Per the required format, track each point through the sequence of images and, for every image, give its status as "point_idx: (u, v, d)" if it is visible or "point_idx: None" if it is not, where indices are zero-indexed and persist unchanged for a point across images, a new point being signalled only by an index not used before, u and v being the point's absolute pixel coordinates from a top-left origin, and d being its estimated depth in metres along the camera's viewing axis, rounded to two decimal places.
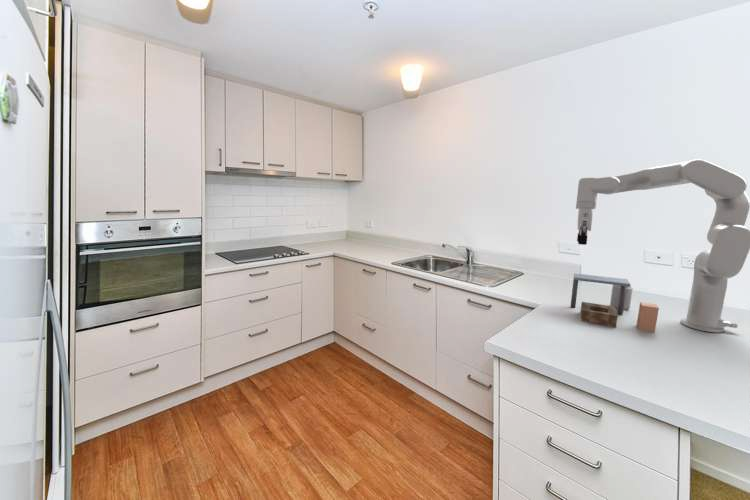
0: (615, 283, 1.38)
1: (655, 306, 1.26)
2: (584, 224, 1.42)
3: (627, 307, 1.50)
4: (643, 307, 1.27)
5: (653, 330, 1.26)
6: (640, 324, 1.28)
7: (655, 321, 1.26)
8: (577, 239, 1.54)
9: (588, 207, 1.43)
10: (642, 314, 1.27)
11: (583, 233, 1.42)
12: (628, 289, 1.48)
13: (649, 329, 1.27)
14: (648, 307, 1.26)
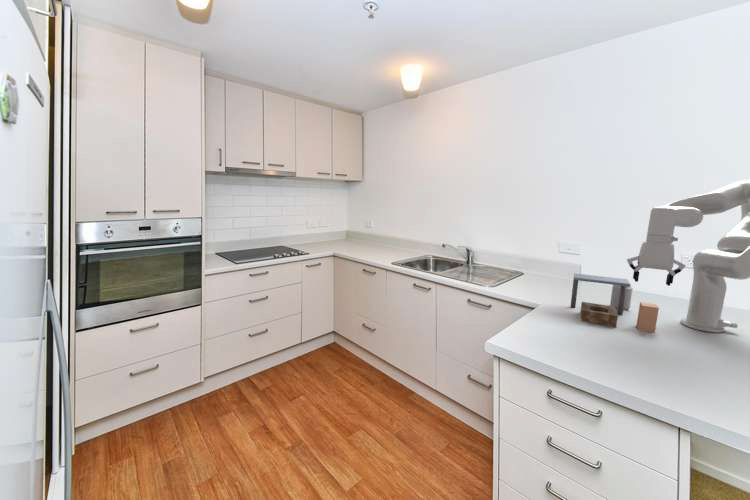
0: (615, 283, 1.38)
1: (655, 306, 1.26)
2: None
3: (627, 307, 1.50)
4: (643, 307, 1.27)
5: (653, 330, 1.26)
6: (640, 324, 1.28)
7: (655, 321, 1.26)
8: (637, 279, 1.27)
9: None
10: (642, 314, 1.27)
11: None
12: (628, 289, 1.48)
13: (649, 329, 1.27)
14: (648, 307, 1.26)
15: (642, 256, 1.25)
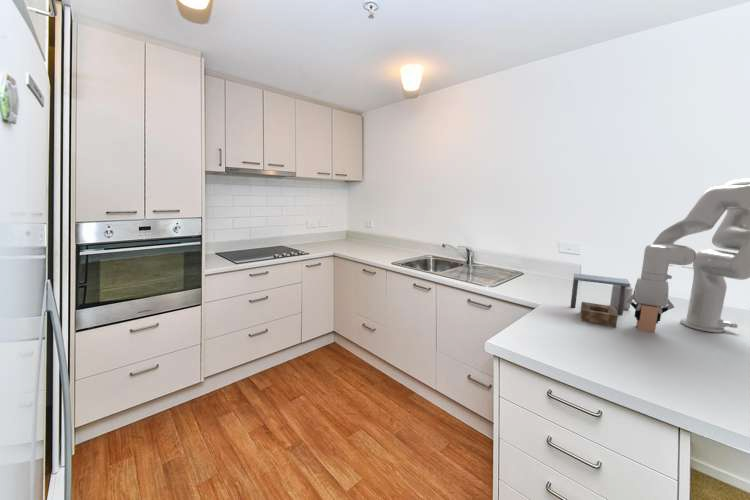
0: (615, 283, 1.38)
1: (655, 306, 1.26)
2: None
3: (627, 307, 1.50)
4: (643, 307, 1.27)
5: (653, 330, 1.26)
6: (640, 324, 1.28)
7: (655, 321, 1.26)
8: (639, 318, 1.29)
9: None
10: (642, 314, 1.27)
11: None
12: (628, 289, 1.48)
13: (649, 329, 1.27)
14: (648, 307, 1.26)
15: (637, 292, 1.28)
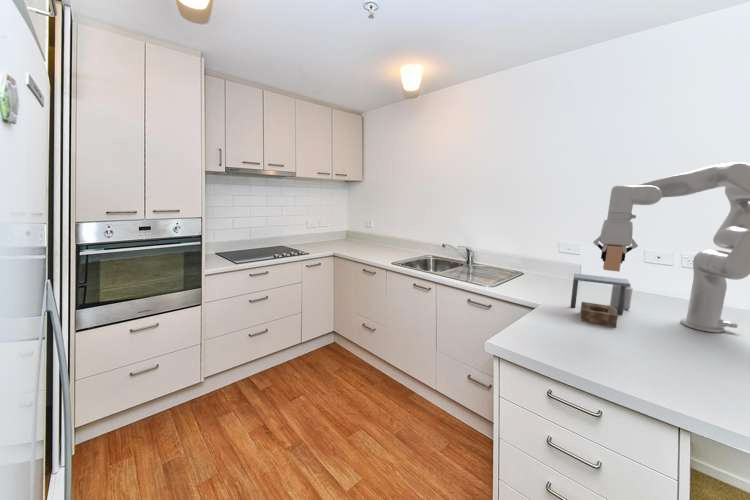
0: (615, 283, 1.38)
1: (620, 246, 1.29)
2: (635, 242, 1.27)
3: (627, 307, 1.50)
4: (608, 247, 1.30)
5: (618, 269, 1.29)
6: (605, 264, 1.31)
7: (620, 260, 1.29)
8: None
9: None
10: (607, 254, 1.30)
11: None
12: (628, 289, 1.48)
13: (614, 269, 1.30)
14: (613, 246, 1.29)
15: (603, 233, 1.31)
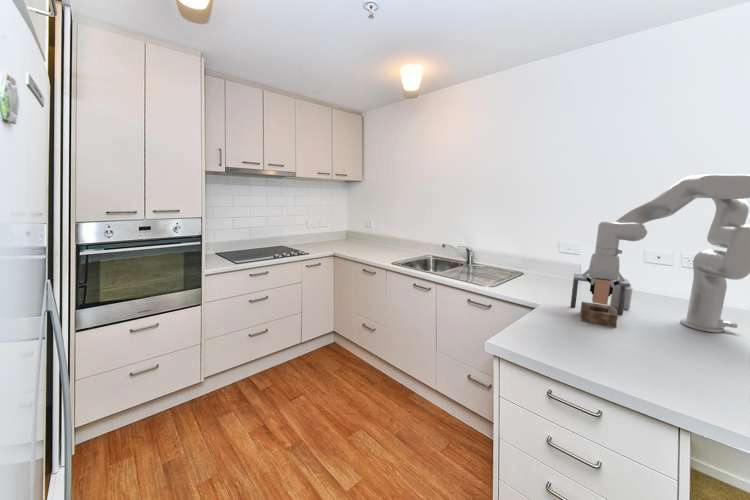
0: None
1: (607, 280, 1.33)
2: None
3: (627, 307, 1.50)
4: (596, 281, 1.34)
5: (606, 303, 1.33)
6: (594, 297, 1.35)
7: (607, 294, 1.32)
8: (593, 292, 1.36)
9: None
10: (596, 288, 1.34)
11: None
12: (628, 289, 1.48)
13: (602, 302, 1.34)
14: (601, 280, 1.33)
15: (591, 267, 1.34)
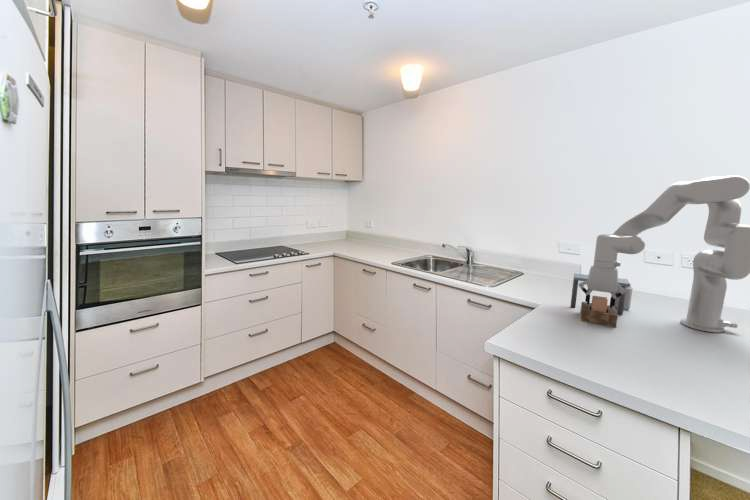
0: None
1: (605, 299, 1.34)
2: (622, 287, 1.31)
3: (627, 307, 1.50)
4: (594, 300, 1.35)
5: None
6: None
7: None
8: None
9: None
10: (593, 307, 1.36)
11: None
12: (628, 289, 1.48)
13: None
14: (598, 300, 1.34)
15: (590, 280, 1.35)
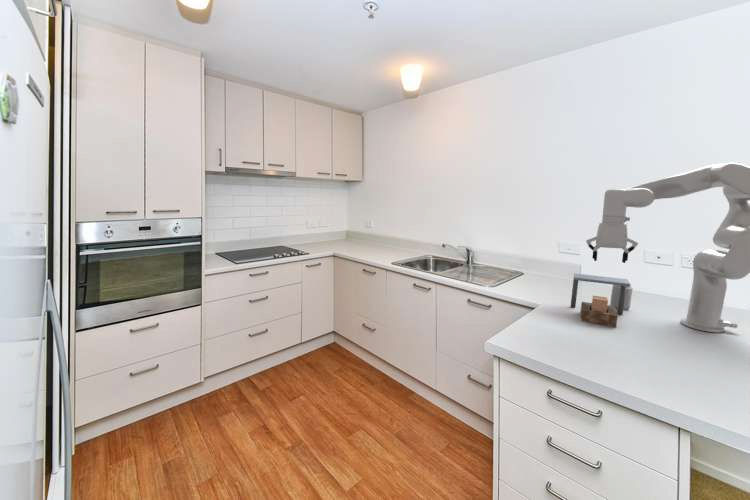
0: (615, 283, 1.38)
1: (605, 299, 1.34)
2: None
3: (627, 307, 1.50)
4: (594, 300, 1.35)
5: None
6: None
7: None
8: (596, 258, 1.35)
9: None
10: (593, 307, 1.36)
11: None
12: (628, 289, 1.48)
13: None
14: (599, 300, 1.34)
15: (599, 236, 1.33)
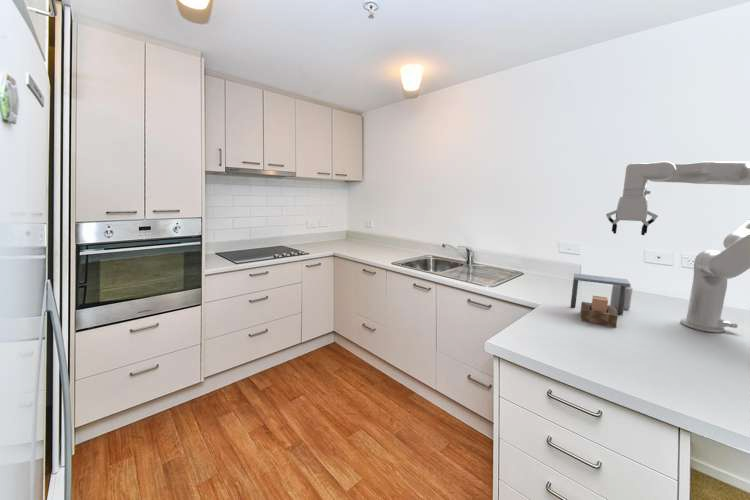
0: (615, 283, 1.38)
1: (605, 299, 1.34)
2: None
3: (627, 307, 1.50)
4: (594, 300, 1.35)
5: None
6: None
7: None
8: (615, 231, 1.39)
9: None
10: (593, 307, 1.36)
11: None
12: (628, 289, 1.48)
13: None
14: (599, 300, 1.34)
15: (619, 209, 1.37)
